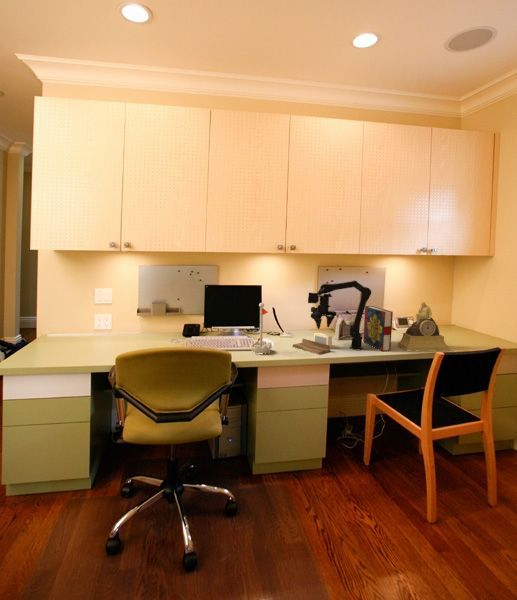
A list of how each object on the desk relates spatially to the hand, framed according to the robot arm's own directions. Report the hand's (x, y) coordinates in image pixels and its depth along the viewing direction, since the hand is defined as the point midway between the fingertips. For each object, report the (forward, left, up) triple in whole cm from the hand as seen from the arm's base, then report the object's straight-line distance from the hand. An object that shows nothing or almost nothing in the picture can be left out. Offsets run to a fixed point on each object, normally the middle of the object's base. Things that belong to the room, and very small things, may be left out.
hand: (323, 328), depth 250 cm
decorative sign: (-34, -9, -13) cm, 37 cm away
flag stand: (+40, -14, -12) cm, 44 cm away
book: (-29, +20, -12) cm, 37 cm away
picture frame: (0, 0, -12) cm, 12 cm away
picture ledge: (+11, 0, -12) cm, 16 cm away
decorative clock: (-50, +41, -13) cm, 66 cm away
